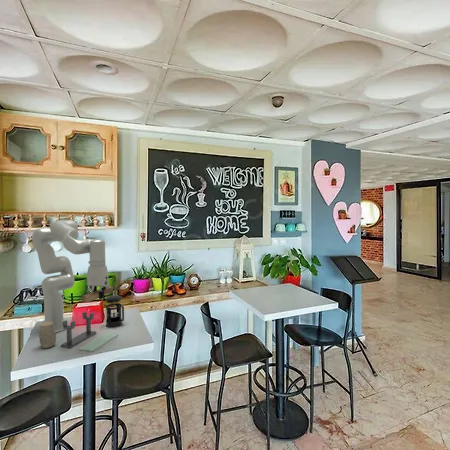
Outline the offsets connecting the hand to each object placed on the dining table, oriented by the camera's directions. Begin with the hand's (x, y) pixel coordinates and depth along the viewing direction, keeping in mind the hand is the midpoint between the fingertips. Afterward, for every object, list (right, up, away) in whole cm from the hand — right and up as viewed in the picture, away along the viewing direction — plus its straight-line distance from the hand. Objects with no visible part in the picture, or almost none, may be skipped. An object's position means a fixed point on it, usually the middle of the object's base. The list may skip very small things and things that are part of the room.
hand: (98, 298), depth 153 cm
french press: (-1, -23, +26) cm, 34 cm away
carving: (-24, -24, -3) cm, 34 cm away
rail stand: (-12, -23, +4) cm, 27 cm away
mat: (0, -23, +1) cm, 23 cm away
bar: (0, +1, 0) cm, 1 cm away
